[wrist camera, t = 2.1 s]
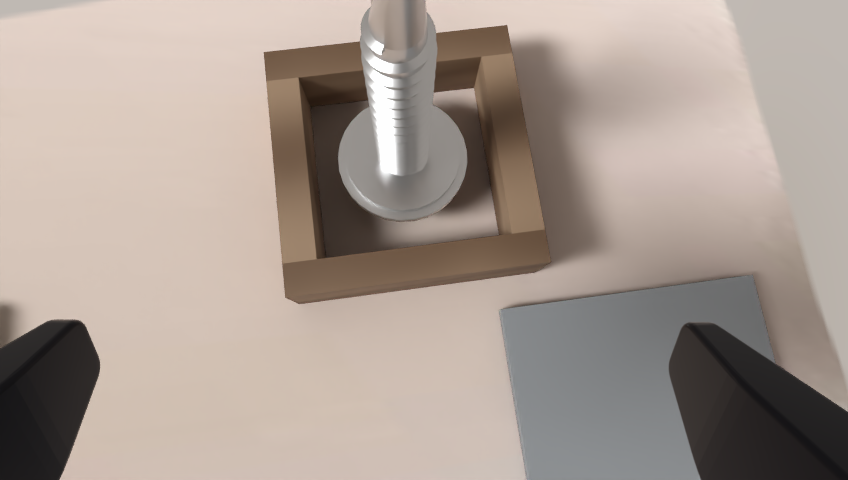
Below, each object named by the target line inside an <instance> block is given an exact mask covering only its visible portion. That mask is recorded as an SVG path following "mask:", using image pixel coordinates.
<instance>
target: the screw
mask: <svg viewBox="0 0 848 480" xmlns="http://www.w3.org/2000/svg"><path fill="white" fill-rule="evenodd" d="M360 48H361V51H362V53H361V60H362V65H363V72H364V77H365V84H366V88H367V96H368V102H369V107H368V108H366V109H364V110H363V111H361V112H360V113H359V114H358V115H357V116H356V117H355V118H354V119H353V120H352V121H351V123H350V124H349V126H348V127H347V129H346V130H345V132H344V134H343V137H342V140H341V142H340V146H339V153H338V163H339V172H340V175H341V178H342V181H343V184H344V186H345V188H346V189H347V191H348V193H349V194H350V196H351V197H352V199H353V200H354V201H355V202H356V203H357V204H358V205H359V206H360V207H361V208H363V209H364V210H366V211H367V212H369V213H371V214H372V215H374V216H377V217H380V218H382V219H385V220H390V221H396V222H408V221H416V220H420V219H424V218H427V217H429V216H431V215H433V214H435V213H437V212H439V211H440V210H441V209H443V208H444V207H445V206H446V205H447V204H449V203H450V202H451V200H452V199H453V198H454V196H455V195H456V194H457V192H458V191H459V189H460V187H461V184H462V182H463V180H464V177H465V172H466V167H467V149H466V145H465V142H464V138H463V136H462V134H461V132H460V130H459V128H458V126H457V125H456V124H455V123H454V121H453V120H452V119H451V118H450V117H449V115H447V114H446V113H445V112H443V111H442V110H441V109H439V108H438V107H436V106H434V105H433V92H434V81H435V70H436V58H437V42H436V30H435V25H434V23H433V20H432V19H431V17H430V15H429V14H428V13H427V9H426V1H425V0H371V7H370V8H369V9H368V10H367V11H366V13H365V14H364V16H363V19H362V22H361V38H360Z"/></svg>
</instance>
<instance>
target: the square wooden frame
mask: <svg viewBox="0 0 848 480" xmlns="http://www.w3.org/2000/svg"><path fill="white" fill-rule="evenodd" d="M436 42H437V58H436V70H435V81H434V92H440V91H449V90H457V89H466V88H474V90H475V96H476V102H477V108H478V113H479V119H480V125H481V131H482V137H483V143H484V149H485V155H486V161H487V167H488V173H489V179H490V185H491V191H492V196H493V202H494V208H495V214H496V220H497V226H498V232H499V235H498V236H490V237H482V238H475V239H467V240H460V241H452V242H444V243H437V244H429V245H421V246H414V247H406V248H398V249H391V250H383V251H375V252H368V253H360V254H352V255H345V256H337V257H330V258H326V254H325V244H324V235H323V225H322V216H321V206H320V196H319V187H318V177H317V167H316V158H315V148H314V138H313V129H312V119H311V110H310V107H312V106H320V105H329V104H337V103H346V102H354V101H363V100H368V96H367V88H366V84H365V77H364V72H363V65H362V60H361V53H362V51H361V48H360V42H352V43H343V44H334V45H325V46H316V47H307V48H298V49H289V50H280V51H271V52H264V60H265V71H266V83H267V94H268V105H269V117H270V128H271V140H272V151H273V163H274V174H275V185H276V197H277V208H278V220H279V231H280V242H281V254H282V265H283V277H284V288H285V298H287V299H290V300H292V301H294V302H296V303H298V304H304V303H311V302H319V301H326V300H333V299H341V298H348V297H356V296H363V295H371V294H378V293H385V292H393V291H400V290H408V289H415V288H423V287H430V286H437V285H445V284H452V283H460V282H467V281H475V280H482V279H489V278H497V277H504V276H512V275H519V274H527V273H534V272H537V271H538V270H540V269H541V268H543V267H544V266H546V265H547V264H549V263H550V262H551V259H550V254H549V248H548V243H547V237H546V232H545V227H544V221H543V216H542V211H541V205H540V200H539V194H538V189H537V184H536V178H535V173H534V168H533V162H532V157H531V151H530V146H529V141H528V135H527V130H526V125H525V119H524V114H523V108H522V103H521V98H520V92H519V87H518V82H517V76H516V71H515V65H514V60H513V55H512V49H511V44H510V38H509V33H508V28H507V25H505V26H496V27H487V28H478V29H469V30H460V31H451V32H442V33H436Z"/></svg>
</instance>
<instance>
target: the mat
mask: <svg viewBox="0 0 848 480" xmlns="http://www.w3.org/2000/svg"><path fill="white" fill-rule="evenodd" d="M499 314H500V320H501V326H502V332H503V338H504V344H505V351H506V357H507V363H508V369H509V375H510V381H511V387H512V393H513V399H514V405H515V411H516V418H517V424H518V430H519V436H520V442H521V448H522V454H523V460H524V466H525V472H526V479H527V480H701V479H700V476H699V474H698V471H697V468H696V465H695V462H694V459H693V456H692V453H691V449H690V446H689V442H688V439H687V435H686V432H685V428H684V425H683V421H682V418H681V414H680V411H679V407H678V404H677V401H676V397H675V394H674V390H673V387H672V383H671V380H670V376H669V360H670V357H671V354H672V351H673V349H674V346H675V343H676V340H677V338H678V335H679V332H680V330H681V328H682V326H683V325H684V324H685V323H688V322H711V323H715V324H717V325H718V326H720V327H721V328H723V329H724V330H726V331H727V332H729V333H730V334H732V335H733V336H735V337H736V338H738V339H739V340H741V341H742V342H744V343H745V344H747V345H748V346H750V347H751V348H753V349H754V350H756V351H757V352H759V353H760V354H762V355H763V356H765V357H766V358H768V359H769V360H771V361H772V362H774V363H775V359H774V355H773V352H772V348H771V344H770V340H769V336H768V332H767V328H766V324H765V321H764V317H763V313H762V309H761V305H760V301H759V297H758V294H757V290H756V286H755V282H754V278H753V275H747V276H740V277H732V278H725V279H718V280H711V281H703V282H696V283H689V284H681V285H674V286H667V287H660V288H652V289H645V290H638V291H631V292H623V293H616V294H609V295H602V296H594V297H587V298H580V299H572V300H565V301H558V302H551V303H543V304H536V305H529V306H522V307H514V308H507V309H501V310H499ZM775 364H776V363H775Z"/></svg>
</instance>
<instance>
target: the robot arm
mask: <svg viewBox="0 0 848 480" xmlns="http://www.w3.org/2000/svg"><path fill="white" fill-rule="evenodd" d="M99 372H100V360H99V357H98V354H97V352H96V350H95V347H94V345H93V342H92V340H91V338H90V335H89V333H88V331H87V328H86V326H85V325H84V324H83V323H82V322H81V321H79V320H50V321H47V322H45V323H43V324H42V325H40V326H38V327H37V328H35V329H33V330H31V331H30V332H28V333H26V334H24V335H23V336H21V337H19V338H17V339H16V340H14V341H12V342H10V343H9V344H7V345H5V346H4V347H2V348H0V480H59V479H60V477H61V475H62V473H63V471H64V468H65V466H66V463H67V461H68V458H69V456H70V453H71V451H72V448H73V445H74V442H75V440H76V437H77V434H78V431H79V429H80V426H81V423H82V420H83V418H84V415H85V412H86V409H87V407H88V404H89V401H90V398H91V396H92V393H93V390H94V387H95V385H96V382H97V379H98V376H99ZM669 376H670V380H671V383H672V387H673V390H674V394H675V397H676V401H677V404H678V407H679V411H680V414H681V418H682V421H683V425H684V428H685V432H686V435H687V439H688V442H689V446H690V449H691V453H692V456H693V459H694V462H695V465H696V468H697V471H698V474H699V476H700V479H701V480H848V412H847V411H846V410H844V409H843V408H841V407H840V406H838V405H837V404H835V403H834V402H832V401H831V400H829V399H828V398H826V397H825V396H823V395H822V394H820V393H819V392H817V391H816V390H814V389H813V388H811V387H810V386H808V385H807V384H805V383H804V382H802V381H801V380H799V379H798V378H796V377H795V376H793V375H792V374H790V373H789V372H787V371H786V370H784V369H783V368H781V367H780V366H778V365H777V364H775V363H774V362H772V361H771V360H769V359H768V358H766V357H765V356H763V355H762V354H760V353H759V352H757V351H756V350H754V349H753V348H751V347H750V346H748V345H747V344H745V343H744V342H742V341H741V340H739V339H738V338H736V337H735V336H733V335H732V334H730V333H729V332H727V331H726V330H724V329H723V328H721V327H720V326H718V325H717V324H715V323H711V322H688V323H685V324H684V325H683V326H682V328H681V330H680V332H679V335H678V338H677V340H676V343H675V346H674V349H673V351H672V354H671V357H670V360H669Z"/></svg>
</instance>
